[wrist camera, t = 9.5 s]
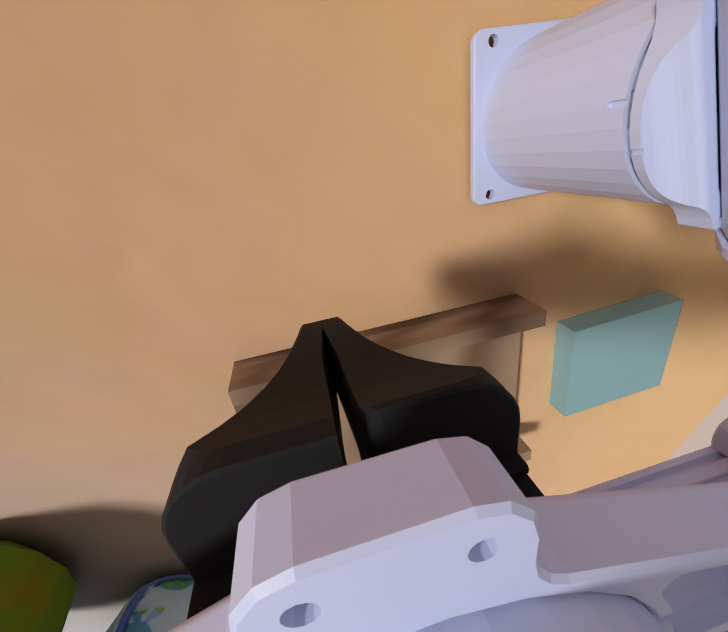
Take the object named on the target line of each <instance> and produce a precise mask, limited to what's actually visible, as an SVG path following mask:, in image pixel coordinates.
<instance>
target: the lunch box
mask: <svg viewBox="0 0 728 632" xmlns="http://www.w3.org/2000/svg"><path fill="white" fill-rule="evenodd" d="M193 585H194V580H193V578H192V577H191V576H190V574H178V575H171V576H166V577H162V578H159V579H157V580H154V581H152V582H150V583H148V584H146V585H144V586H143V587H141V588H140V589H139V590H138V591H136V592H135V593H134V594H133V596H132V597H131V598H130V599H129V601H128V602H127V603H126V604H125V606H124V607H123V608H122V610H121V611H120V613H119V615H118V616H117V617H116V619H115V620H114V621H113V623H112V624H111V626H110V627H109V628H108V630H107V631H106V632H167V631H169V630H170V629H172V628H174V627H175V626H177V625H179V624H181V623H182V622H184V621H186V620H187V615H188V610H189V605H190V600H191V595H192V590H193Z"/></svg>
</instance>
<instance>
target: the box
mask: <svg viewBox="0 0 728 632" xmlns="http://www.w3.org/2000/svg"><path fill="white" fill-rule="evenodd" d="M546 314H547V311H546V310H544V309H542V308H540V307H538V306H537V305H535V304H533V303H531V302H530V301H528V300H526V299H524V298H523V297H521V296H519V295H517V294H513V295H509V296H505V297H501V298H497V299H493V300H488V301H484V302H480V303H476V304H472V305H468V306H464V307H460V308H455V309H451V310H447V311H443V312H439V313H435V314H431V315H427V316H422V317H418V318H414V319H410V320H406V321H402V322H398V323H394V324H390V325H385V326H381V327H377V328H373V329H369V330H365V331H361V332H358V333H360V334H361V335H363V336H364V337H366V338H367V339H369V340H371V341H373V342H374V343H376V344H378V345H380V346H382V347H385V348H387V349H390V350H392V351H395V352H397V353H400V354H403V355H406V356H410V357H414V358H417V359H421V360H426V361H431V362H437V363H443V364H450V365H464V366H479V367H483V368H484V369H485V370H486V371H488V372H489V373H490V374H491V375H492V376H493V377H495V378H496V379H497V380H498V381H499V382H500V383H501V384H502V385H503V386H504V387H505V389H506V390H507V391H508V392H509V393H510V394H511V395H512V396H513V397H514V398H515V400H516V393H517V379H518V366H519V353H520V339H521V332H522V331H526V330H530V329H534V328H538V327H542V326H545V323H546ZM291 349H292V348H291ZM291 349H286V350H282V351H278V352H274V353H270V354H266V355H262V356H258V357H253V358H249V359H245V360H241V361H237V362H234V367H233V371H232V376H231V381H230V385H229V390H228V394H229V396H230V398H231V401H232V403H233V406H234V408H235V410H236V413H238V412H239V411H240V410H241V409H243V408H244V407H245V406H246V405H247V404H248V403H249V402H250V401H251V400H253V399H254V398H255V397H256V396H257V395H258V394H259V393H260V392H261V391H262V390H263V389H264V388H265V387H266V386H267V384H268V383H269V382H270V381H271V380H272V379H273V377H274V376H275V375H276V373H277V372H278V371H279V369H280V368H281V366H282V364H283V363H284V361H285V360H286V358H287V356H288V355H289V353H290V351H291ZM337 397H338V405H339V413H340V421H341V429H342V437H343V445H344V451H345V457H346V461H347V465H348V464H352V463H355V462H358V461H361V457H360V454H359V450H358V447H357V444H356V441H355V438H354V436H353V433H352V431H351V428H350V425H349V423H348V420H347V417H346V415H345V412H344V409H343V407H342V404H341V401H340V399H339V396H338V393H337ZM517 452H518V453H519V455H520V456H521V457H522V458H523V460H524V461H527V460H530V459H531V449H530V448H529V447H528V446H527V445H526V444H525V442H524V441H523V440H522V439H521V438H520V437H519V439H518V451H517Z"/></svg>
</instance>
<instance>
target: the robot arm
mask: <svg viewBox="0 0 728 632" xmlns="http://www.w3.org/2000/svg"><path fill="white" fill-rule="evenodd" d="M489 37H492V38H493V40H494V44H493V47H490V45H489V42H488V40H489ZM470 101H471V201H472V202H473V203H474V204H476V205H485V204H490V203H495V202H500V201H505V200H510V199H515V198H520V197H525V196H530V195H535V194H540V193H545V192H550V191H555V192H563V193H572V194H580V195H589V196H597V197H606V198H614V199H623V200H632V201H640V202H649V203H657V204H666V205H669V206H670V207H671V208H672V209H673V211H674V212H675V214H676V218H677V223H678V224H680V225H686V226H692V227H698V228H705V229H711V230H715V241H716V246H717V249H718V251H719V253H720V254H721V256H722V257H723V259H724V260H725V261H727V262H728V0H607V1H605V2H602V3H600V4H598V5H596V6H594V7H592V8H590V9H588V10H586V11H584V12H582V13H580V14H578V15H576V16H574V17H571V18H569V19H561V20H553V21H544V22H536V23H528V24H519V25H511V26H503V27H494V28H486V29H482V30H479V31H478V32H476V33H475V34H474V35H473V37H472V39H471V44H470ZM488 190H490V196H489V197H488V198H486V193H487V191H488ZM337 393H338V396H339V399H340V401H341V404H342V407H343V409H344V412H345V415H346V417H347V420H348V423H349V425H350V428H351V431H352V433H353V436H354V438H355V441H356V444H357V447H358V450H359V454H360V457H361V461H358V462H355V463H352V464H348V465H347V461H346V457H345V451H344V445H343V437H342V429H341V421H340V413H339V405H338V397H337ZM519 427H520V411H519V406H518V404H517V402H516V400H515V398H514V397H513V396H512V395H511V394H510V393H509V392H508V391H507V390H506V389H505V387H504V386H503V385H502V384H501V383H500V382H499V381H498V380H497V379H496V378H495V377H493V376H492V375H491V374H490V373H489V372H488V371H486V370H485V369H484V368H483V367H479V366H464V365H450V364H443V363H437V362H431V361H426V360H421V359H417V358H414V357H410V356H406V355H403V354H400V353H397V352H395V351H392V350H390V349H387V348H385V347H382V346H380V345H378V344H376V343H374V342H373V341H371V340H369V339H367V338H366V337H364V336H363V335H361V334H360V333H358V332H357V331H355V330H354V329H352V328H351V327H350V326H349V325H347V324H346V323H345V322H344V321H343V320H341V319H340V318H338V317H334V318H330V319H326V320H321V321H317V322H313V323H309V324H304V325H302V327H301V328H300V331H299V334H298V336H297V339H296V341H295V343H294V345H293V347H292V349H291V351H290V353H289V355H288V356H287V358H286V360H285V361H284V363H283V364H282V366H281V368H280V369H279V371H278V372H277V373H276V375H275V376H274V377H273V379H272V380H271V381H270V382H269V383H268V384H267V386H266V387H265V388H264V389H263V390H262V391H261V392H260V393H259V394H258V395H257V396H256V397H255V398H254V399H253V400H251V401H250V402H249V403H248V404H247V405H246V406H245V407H244V408H243V409H241V410H240V411H239V412H238V413H237V414H235V415H234V416H233V417H231V418H230V419H229V420H227V421H226V422H225V423H223V424H222V425H221V426H219V427H218V428H216V429H215V430H213V431H212V432H210V433H209V434H207V435H205V436H204V437H202V438H201V439H199V440H198V441H196V442H195V443H193V444H191V445H190V446H188V447H187V449H186V451H185V454H184V456H183V458H182V460H181V463H180V465H179V467H178V470H177V473H176V475H175V478H174V481H173V484H172V487H171V490H170V493H169V497H168V500H167V503H166V506H165V509H164V512H163V515H162V531H163V533H164V536H165V538H166V540H167V542H168V544H169V545H170V547H171V548H172V550H173V551H174V553H175V554H176V555H177V557H178V558H179V560H180V561H181V563H182V564H183V565H184V567H185V568H186V570H187V571H188V573H189V574H190V576H191V577H192V578H193V580H194V585H193V590H192V595H191V600H190V605H189V610H188V615H187V620H186V621H184V622H182V623H181V624H179V625H177V626H175V627H174V628H172V629H170V630H169V631H167V632H728V418H727V419H725V420H724V421H723V422H722V423H721V424H719V426H718V427H717V429H716V430H715V433H714V435H713V438H712V441H711V446H709V447H706V448H704V449H701V450H697V451H694V452H692V453H689V454H686V455H683V456H680V457H677V458H674V459H671V460H668V461H665V462H662V463H659V464H656V465H654V466H651V467H648V468H645V469H642V470H639V471H636V472H633V473H630V474H627V475H624V476H621V477H618V478H616V479H613V480H610V481H607V482H604V483H601V484H598V485H595V486H592V487H589V488H586V489H583V490H580V491H578V492H575V493H572V494H566V495H553V496H544V495H543V494H542V492H541V491H540V490H539V489H538V487H537V486H536V485H535V483H534V482H533V481H532V480H531V478H530V477H529V476H528V475H527V473H528V472H529V468H528V465H527V463H526V462H525V461H524V460H523V458H522V457H521V456H520V455H519V453H518V452H517V451H518V439H519Z"/></svg>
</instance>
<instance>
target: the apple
mask: <svg viewBox="0 0 728 632" xmlns="http://www.w3.org/2000/svg"><path fill="white" fill-rule="evenodd" d="M76 586H77V585H76V584H75V582H74V580H73V579H72V577H71V575H70V574H69V572H68V570H67V568H66V567H64V566H62V565H61V564H59V563H57V562H56V561H54V560H52V559H51V558H49V557H47V556H46V555H44V554H42V553H40V552H38V551H36V550H34V549H32V548H29V547H26V546H23V545H20V544H17V543H15V542H12V541H9V540H0V632H62V631H63V627H64V624H65V621H66V618H67V615H68V612H69V609H70V606H71V603H72V599H73V596H74V592H75V589H76Z"/></svg>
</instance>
